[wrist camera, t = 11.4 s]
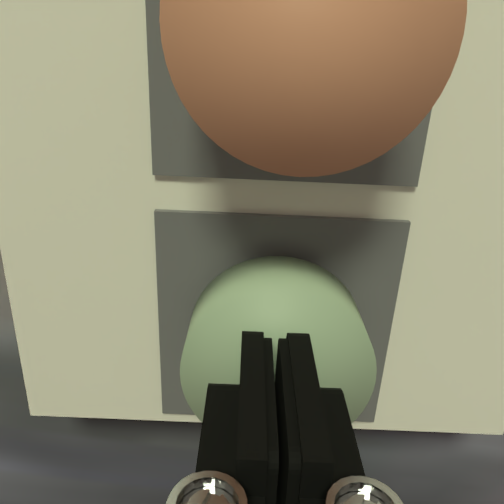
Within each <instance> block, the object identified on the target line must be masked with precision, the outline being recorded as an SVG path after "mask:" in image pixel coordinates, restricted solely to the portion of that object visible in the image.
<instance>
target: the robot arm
mask: <svg viewBox="0 0 504 504" xmlns="http://www.w3.org/2000/svg"><path fill="white" fill-rule="evenodd" d="M166 504H403V503H402V501H401V500H400V499H399V497H398V496H397V494H396V493H395V492H393V491H392V490H391V489H390V488H389V487H388V486H386V485H385V484H383V483H381V482H379V481H378V480H376V479H372V478H369V477H365V473H364V470H363V466H362V462H361V458H360V454H359V450H358V447H357V443H356V439H355V435H354V431H353V427H352V424H351V420H350V416H349V412H348V408H347V404H346V401H345V397H344V393H343V391H342V389H341V388H322V387H320V385H319V380H318V375H317V369H316V364H315V359H314V354H313V349H312V344H311V339H310V335H309V333H287V336H286V338H279V339H278V348H277V361H276V374H275V379H274V363H273V346H272V338H264V332H257V331H242V342H241V364H240V384H214V383H208V387H207V394H206V401H205V408H204V415H203V422H202V429H201V437H200V444H199V451H198V458H197V465H196V472H195V473H193V474H191V475H189V476H187V477H185V478H183V479H182V480H181V481H180V482H179V483H178V484H177V485H176V486H175V487H174V488H173V490H172V492H171V493H170V495H169V497H168V500H167V502H166Z"/></svg>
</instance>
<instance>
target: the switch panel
mask: <svg viewBox="0 0 504 504" xmlns="http://www.w3.org/2000/svg"><path fill="white" fill-rule="evenodd" d="M159 16H160V0H0V250H1V255H2V261H3V266H4V272H5V277H6V283H7V288H8V294H9V299H10V305H11V310H12V316H13V321H14V327H15V332H16V338H17V343H18V349H19V354H20V360H21V365H22V371H23V376H24V381H25V387H26V392H27V398H28V403H29V409H30V414H31V415H35V416H59V417H83V418H108V419H132V420H156V421H180V422H201V421H200V420H199V419H198V417H197V416H196V415H195V414H194V413H193V411H192V410H191V408H190V406H189V405H188V403H187V401H186V398H185V396H184V394H183V390H182V386H181V381H180V362H181V357H182V353H183V349H184V345H185V341H186V337H187V333H188V329H189V325H190V321H191V317H192V313H193V310H194V307H195V305H196V302H197V300H198V299H199V297H200V295H201V293H202V292H203V291H204V289H205V288H206V287H207V286H208V284H209V283H210V282H212V281H213V280H214V279H215V278H216V277H217V276H218V275H220V274H221V273H222V272H224V271H225V270H227V269H229V268H231V267H232V266H234V265H237V264H239V263H242V262H244V261H247V260H251V259H255V258H260V257H267V256H285V257H294V258H298V259H302V260H306V261H309V262H311V263H314V264H316V265H318V266H320V267H322V268H324V269H326V270H327V271H329V272H330V273H332V274H333V275H334V276H335V277H337V278H338V279H339V280H340V281H341V282H342V283H343V284H344V286H345V287H346V288H347V289H348V290H349V292H350V294H351V295H352V297H353V299H354V301H355V303H356V306H357V308H358V311H359V313H360V316H361V318H362V321H363V323H364V326H365V329H366V331H367V334H368V336H369V339H370V341H371V344H372V347H373V349H374V353H375V357H376V366H377V374H376V382H375V386H374V390H373V393H372V395H371V398H370V400H369V402H368V404H367V405H366V407H365V409H364V410H363V411H362V413H361V414H360V415H359V416H358V418H357V419H356V420H355V421H354V422H353V423H352V427H353V429H375V430H399V431H424V432H448V433H472V434H497V435H503V432H504V0H467V16H466V23H465V30H464V36H463V40H462V44H461V47H460V51H459V55H458V58H457V61H456V63H455V66H454V68H453V71H452V74H451V76H450V78H449V80H448V82H447V84H446V86H445V88H444V90H443V92H442V93H441V95H440V97H439V98H438V100H437V101H436V103H435V104H434V106H433V107H432V109H431V110H430V112H429V113H428V114H427V115H426V116H425V118H424V119H423V120H422V121H421V122H420V124H419V125H418V126H417V127H416V128H415V129H414V130H413V131H412V132H411V133H410V134H409V135H408V136H407V137H405V138H404V139H403V140H402V141H401V142H400V143H398V144H397V145H396V146H394V147H393V148H392V149H390V150H389V151H388V152H386V153H385V154H383V155H381V156H379V157H377V158H376V159H374V160H372V161H370V162H368V163H366V164H364V165H361V166H359V167H356V168H354V169H351V170H348V171H344V172H341V173H337V174H332V175H325V176H319V177H294V176H285V175H279V174H275V173H271V172H267V171H264V170H261V169H258V168H256V167H253V166H251V165H248V164H246V163H244V162H243V161H241V160H239V159H237V158H235V157H233V156H232V155H230V154H229V153H228V152H226V151H225V150H223V149H222V148H221V147H219V146H218V145H217V144H216V143H215V142H214V141H213V140H211V139H210V138H209V137H208V136H207V135H206V134H205V133H204V132H203V131H202V129H201V128H200V127H199V126H198V125H197V123H196V122H195V121H194V120H193V119H192V117H191V116H190V114H189V113H188V111H187V109H186V108H185V106H184V105H183V103H182V102H181V100H180V98H179V96H178V93H177V91H176V89H175V87H174V85H173V83H172V80H171V77H170V74H169V71H168V68H167V65H166V62H165V57H164V52H163V48H162V43H161V33H160V22H159Z"/></svg>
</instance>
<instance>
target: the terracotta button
mask: <svg viewBox="0 0 504 504" xmlns="http://www.w3.org/2000/svg"><path fill="white" fill-rule="evenodd" d="M466 16H467V0H160V16H159V22H160V33H161V43H162V48H163V52H164V57H165V62H166V65H167V68H168V71H169V74H170V77H171V80H172V83H173V85H174V87H175V89H176V91H177V93H178V96H179V98H180V100H181V102H182V103H183V105H184V106H185V108H186V109H187V111H188V113H189V114H190V116H191V117H192V119H193V120H194V121H195V122H196V123H197V125H198V126H199V127H200V128H201V129H202V131H203V132H204V133H205V134H206V135H207V136H208V137H209V138H210V139H211V140H213V141H214V142H215V143H216V144H217V145H218V146H219V147H221V148H222V149H223V150H225V151H226V152H228V153H229V154H230V155H232V156H233V157H235V158H237V159H239V160H241V161H243V162H244V163H246V164H248V165H251V166H253V167H256V168H258V169H261V170H264V171H267V172H271V173H275V174H279V175H285V176H294V177H319V176H325V175H332V174H337V173H341V172H344V171H348V170H351V169H354V168H356V167H359V166H361V165H364V164H366V163H368V162H370V161H372V160H374V159H376V158H377V157H379V156H381V155H383V154H385V153H386V152H388V151H389V150H390V149H392V148H393V147H394V146H396V145H397V144H398V143H400V142H401V141H402V140H403V139H404V138H405V137H407V136H408V135H409V134H410V133H411V132H412V131H413V130H414V129H415V128H416V127H417V126H418V125H419V124H420V122H421V121H422V120H423V119H424V118H425V116H426V115H427V114H428V113H429V112H430V110H431V109H432V107H433V106H434V104H435V103H436V101H437V100H438V98H439V97H440V95H441V93H442V92H443V90H444V88H445V86H446V84H447V82H448V80H449V78H450V76H451V74H452V71H453V68H454V66H455V63H456V61H457V58H458V55H459V51H460V47H461V44H462V40H463V36H464V30H465V23H466Z"/></svg>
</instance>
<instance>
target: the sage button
mask: <svg viewBox="0 0 504 504" xmlns="http://www.w3.org/2000/svg"><path fill="white" fill-rule="evenodd" d="M242 331H257V332H264V338H272V346H273V363H274V379H275V374H276V361H277V348H278V339H279V338H286V336H287V333H309V335H310V339H311V344H312V349H313V354H314V359H315V364H316V369H317V375H318V380H319V385H320V387H322V388H341V389H342V391H343V393H344V397H345V401H346V404H347V408H348V412H349V416H350V420H351V424H352V423H353V422H354V421H355V420H356V419H357V418H358V416H359V415H360V414H361V413H362V411H363V410H364V409H365V407H366V405H367V404H368V402H369V400H370V398H371V395H372V393H373V390H374V386H375V382H376V374H377V366H376V357H375V353H374V349H373V347H372V344H371V341H370V339H369V336H368V334H367V331H366V329H365V326H364V323H363V321H362V318H361V316H360V313H359V311H358V308H357V306H356V303H355V301H354V299H353V297H352V295H351V294H350V292H349V290H348V289H347V288H346V287H345V286H344V284H343V283H342V282H341V281H340V280H339V279H338V278H337V277H335V276H334V275H333V274H332V273H330V272H329V271H327V270H326V269H324V268H322V267H320V266H318V265H316V264H314V263H311V262H309V261H306V260H302V259H298V258H294V257H285V256H267V257H260V258H255V259H251V260H247V261H244V262H242V263H239V264H237V265H234V266H232V267H231V268H229V269H227V270H225V271H224V272H222V273H221V274H220V275H218V276H217V277H216V278H215V279H214V280H213V281H212V282H210V283H209V284H208V286H207V287H206V288H205V289H204V291H203V292H202V293H201V295H200V297H199V299H198V300H197V302H196V305H195V307H194V310H193V313H192V317H191V321H190V325H189V329H188V333H187V337H186V341H185V345H184V349H183V353H182V357H181V362H180V381H181V386H182V390H183V394H184V396H185V398H186V401H187V403H188V405H189V406H190V408H191V410H192V411H193V413H194V414H195V415H196V416H197V417H198V419H199V420H200V421H201V422H203V415H204V408H205V401H206V394H207V387H208V383H214V384H240V364H241V342H242Z"/></svg>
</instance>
